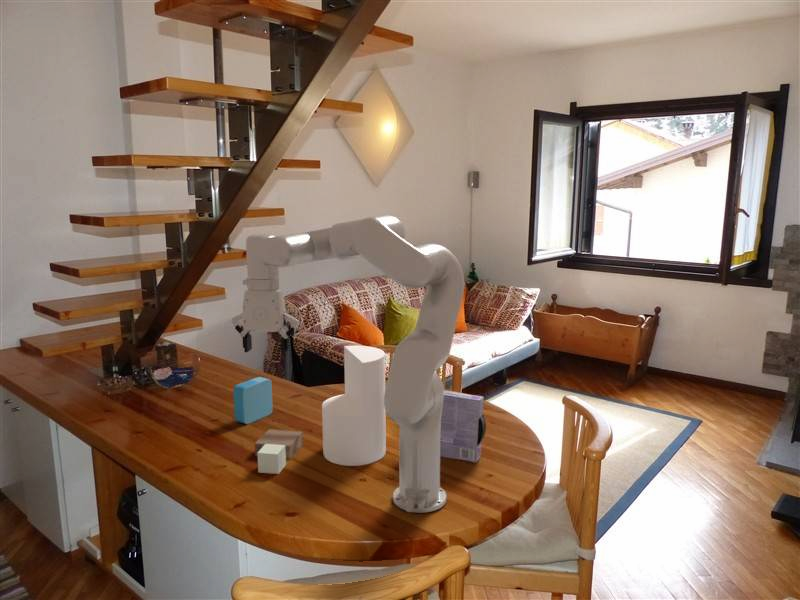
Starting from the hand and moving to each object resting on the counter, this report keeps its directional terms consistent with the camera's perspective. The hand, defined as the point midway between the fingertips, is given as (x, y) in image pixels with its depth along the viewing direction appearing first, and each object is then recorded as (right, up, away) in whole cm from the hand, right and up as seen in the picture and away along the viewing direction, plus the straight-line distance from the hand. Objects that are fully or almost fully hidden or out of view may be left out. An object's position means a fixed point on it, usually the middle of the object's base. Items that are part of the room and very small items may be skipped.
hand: (266, 351), depth 152 cm
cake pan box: (+47, -30, +14) cm, 57 cm away
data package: (-13, -25, +40) cm, 48 cm away
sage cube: (0, -31, +6) cm, 32 cm away
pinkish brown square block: (0, -29, +17) cm, 34 cm away
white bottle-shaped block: (+21, -29, +16) cm, 39 cm away
